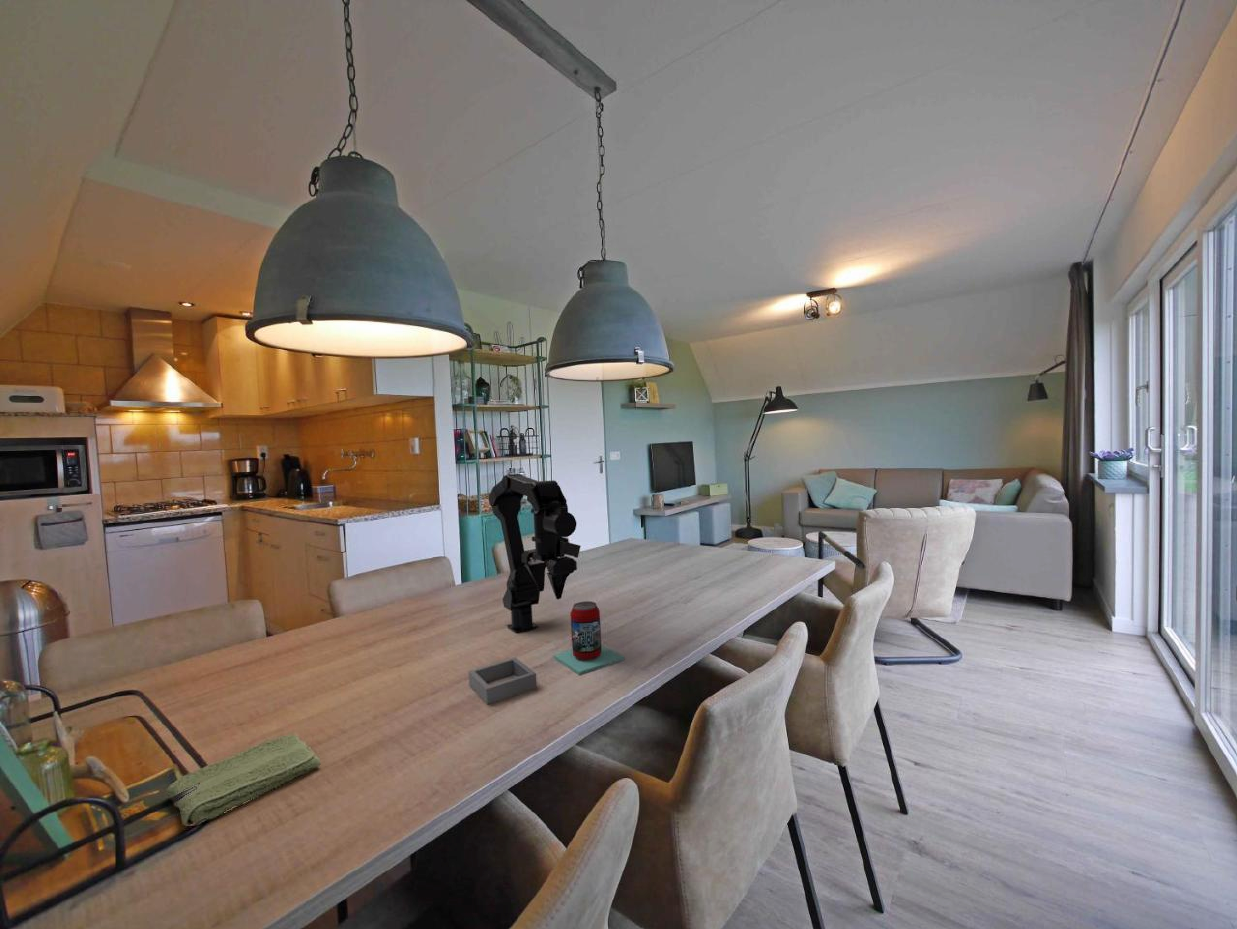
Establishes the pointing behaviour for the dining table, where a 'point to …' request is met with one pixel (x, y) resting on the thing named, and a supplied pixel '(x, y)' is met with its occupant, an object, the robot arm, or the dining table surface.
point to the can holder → (505, 688)
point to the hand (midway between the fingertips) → (549, 595)
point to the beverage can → (586, 630)
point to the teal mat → (588, 665)
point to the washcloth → (242, 777)
